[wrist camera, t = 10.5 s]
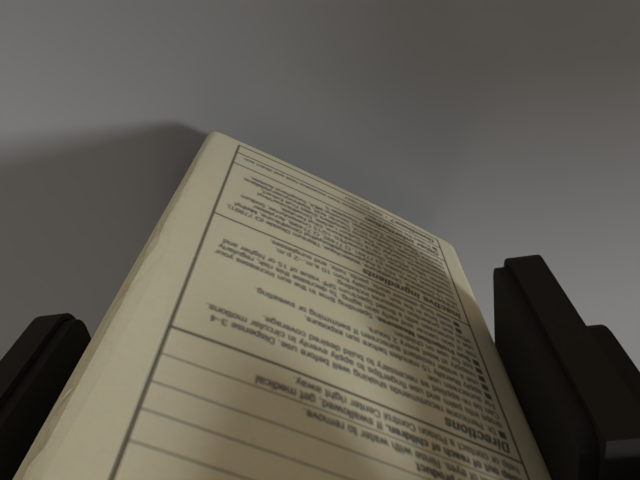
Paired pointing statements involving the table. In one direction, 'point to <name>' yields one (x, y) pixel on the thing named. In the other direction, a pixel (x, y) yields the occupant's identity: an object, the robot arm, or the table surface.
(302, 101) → the slate board
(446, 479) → the skincare box
